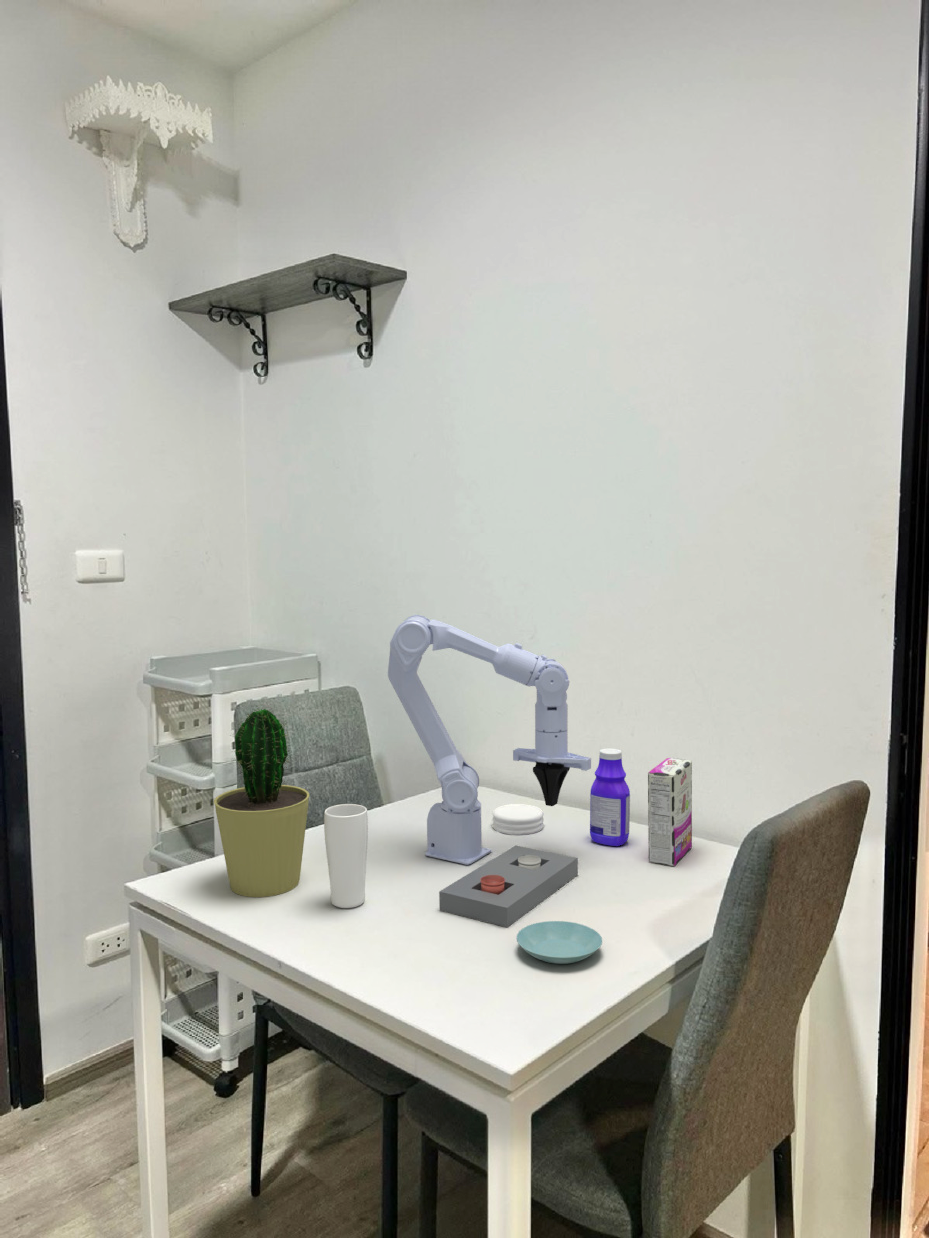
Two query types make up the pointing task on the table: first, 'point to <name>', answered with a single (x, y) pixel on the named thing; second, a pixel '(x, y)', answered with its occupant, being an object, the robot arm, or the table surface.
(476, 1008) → the table surface
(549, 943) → the saucer
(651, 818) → the candy bar box
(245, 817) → the potted cactus
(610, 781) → the bottle
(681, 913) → the table surface
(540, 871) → the console
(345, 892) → the drinking glass
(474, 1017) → the table surface
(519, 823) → the white ridged round container
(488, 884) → the red button
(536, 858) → the sample container
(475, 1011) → the table surface
